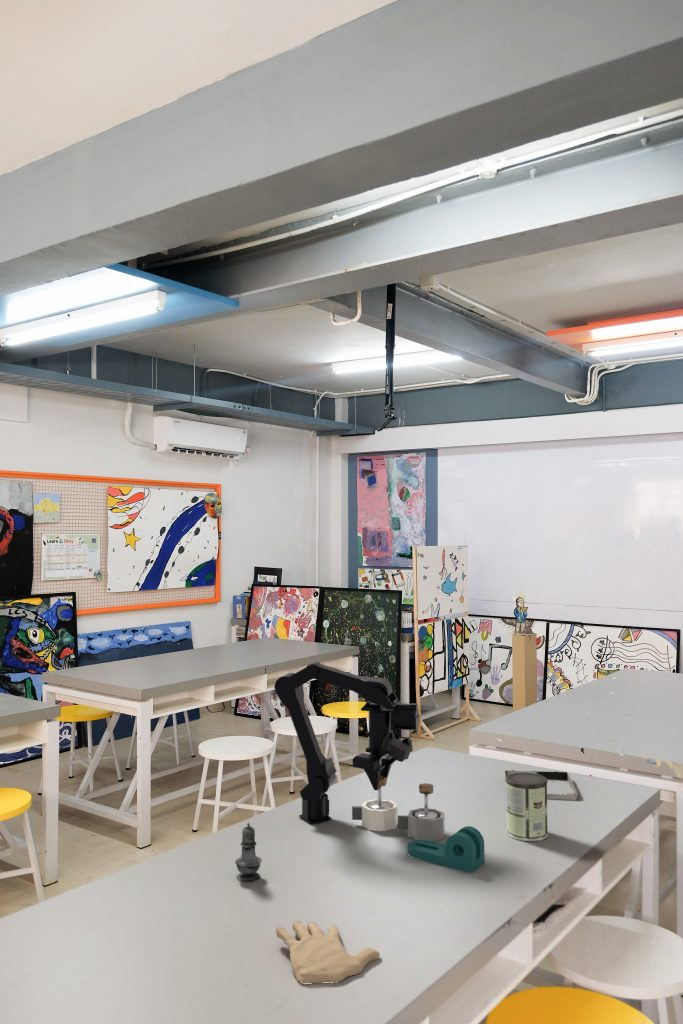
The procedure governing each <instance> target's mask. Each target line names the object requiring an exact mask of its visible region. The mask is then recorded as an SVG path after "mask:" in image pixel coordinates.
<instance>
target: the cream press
mask: <svg viewBox="0 0 683 1024" xmlns="http://www.w3.org/2000/svg"><path fill="white" fill-rule="evenodd" d="M374 802H378V798H375V799H370V800H364V802H363V804H361V805H359V806H356V805H355V806H354V805H353V806H351V820H352V821H354V820H355V821H361V827H363V828H364V829H366V830H368V831H370V830H372V831H373V832H382V831H384V832H388V831H392V830H391V829H393V830H395V829H396V828H397V827H398V824H397V823H398V811H399V809H398V808H399V807H398V803H396V802H394V801H392V800H390V799H381V802H385V803H388V804H390V809H385V810H376V809H370V808H369V804H371V803H374ZM394 828H395V829H394ZM387 830H388V831H387ZM372 831H371V832H372Z"/></svg>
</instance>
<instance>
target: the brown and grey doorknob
mask: <svg viewBox="0 0 683 1024" xmlns="http://www.w3.org/2000/svg"><path fill="white" fill-rule="evenodd" d="M387 781H388V778H387V777H385V776H380V780H379V788H378V790H377V799H378V802H374V803H371V804H369V808H370V809H376V810H385V809H390V804H388V803H385V802H381V800H382V787H385V786H387V784H388V783H387ZM384 785H385V786H384Z"/></svg>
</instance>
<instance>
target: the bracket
mask: <svg viewBox="0 0 683 1024" xmlns="http://www.w3.org/2000/svg"><path fill="white" fill-rule="evenodd" d="M406 849H407V851H406V852H407V853H408V854H409V855H410V856H412V857H414V858H418V859H421V860H420V861H422V860H424V861H423V862H426V861H428V862H427V863H430V862H431V863H430V864H435V865H439V866H442V867H443V866H444V867H447V868H451V869H455V870H459V871H463V872H466V873H471V874H473V873H474V872H475V871H477V870H478V869H479V868H480V867H481V866H483V865H484V864H485V839H484V836H483V835H482V833H481V832H480V831H479V830H478V829H477V828H476V827H473V826H471V825H467V826H464V827H462V828H460V829H459V830H458V831H456V832H455V833H453V834H452V835H451V836H449V837H448V838H447V839H446V842H445V844H444V843H440V842H437V841H433V842H432V841H427V840H414V839H413V840H411V841H409V842H408V843H407V847H406ZM408 854H407V855H408ZM410 856H409V857H410ZM414 858H413V859H414ZM418 859H417V860H418Z"/></svg>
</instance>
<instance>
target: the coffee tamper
mask: <svg viewBox="0 0 683 1024" xmlns="http://www.w3.org/2000/svg"><path fill="white" fill-rule="evenodd" d="M418 793H420V794H422V795H424V797H423V798H424V799H423V801H424V805H423V806H424V807H423V808H424V811H418V812H416V813H415V817H416V818H418V819H429V820H431V819H435V818H437V813H435V812H432V811H428V808H429V795H432V794H433V793H434V785H433V784H432V783H429V782H428V783H425V782H424V783H420V784H419V785H418Z"/></svg>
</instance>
